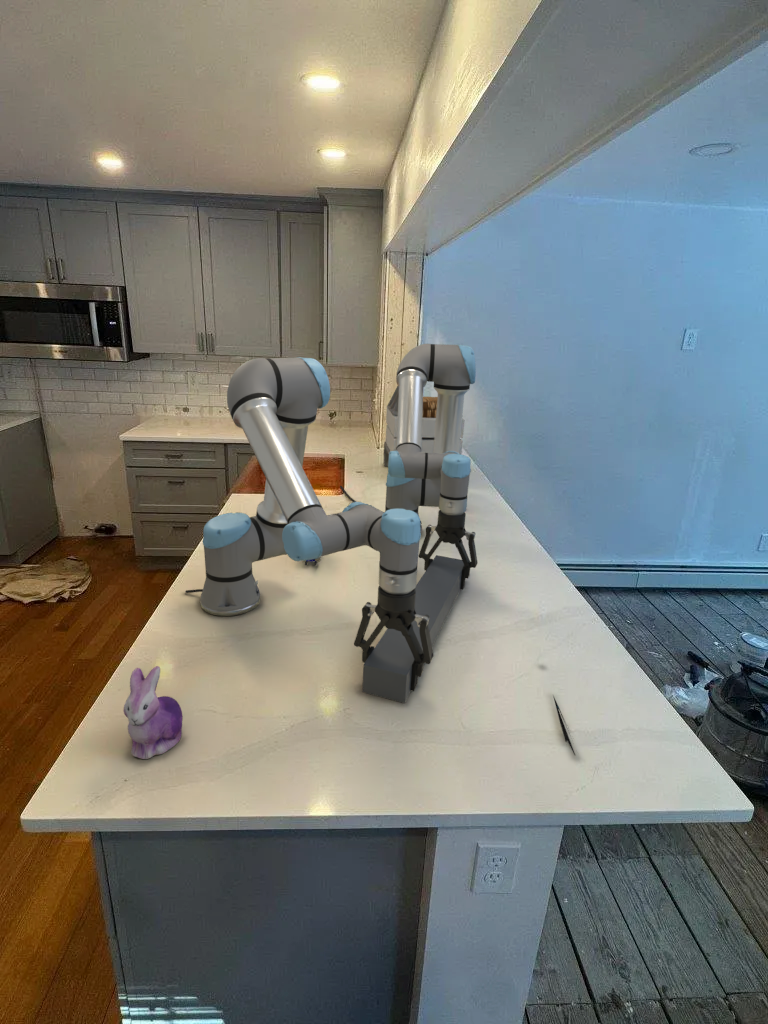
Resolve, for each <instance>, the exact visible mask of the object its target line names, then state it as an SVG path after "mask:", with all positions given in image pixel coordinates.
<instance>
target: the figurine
mask: <svg viewBox="0 0 768 1024" xmlns="http://www.w3.org/2000/svg"><path fill="white" fill-rule="evenodd" d="M160 676H161V668H160V666H159V665H156V666H154V667H152V669H150V671H149V673H148V674H147V676H146V677H145V675H144V672H143V670H142V668H140V667H135V668H134V669H133V670H132V672H131V674H130V679H129V680H130V681H129V690H130V692H129V695H128V696H127V699H126V701H125V702H124V704H123V709H122V711H123V714H124V716H125V717H126V718H127V721H128V724H127V731H128V735H129V737H130V738H131V741H132V746H131V750H130V751H131V752H130V753H131V756H132V757H135V758H138V759H143V760H147V759H151V758H153V757H154V756H157V755H158V756H159V755H163V754H164V753H167V751H169V750H171V749H172V748H173V747H175V745H177V744H178V743H179V742H180V741H181V739H182V734H183V733H182V728H183V710H182V708H181V706H180V703H179V702H178V701H177V700H176V699H175V698H174V697H172V696H168V695H162V696H157V694H156V690H157V687H158V683H159V680H160Z"/></svg>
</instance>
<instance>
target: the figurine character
mask: <svg viewBox="0 0 768 1024" xmlns="http://www.w3.org/2000/svg"><path fill="white" fill-rule="evenodd" d="M320 561H321V557H319V558H317V559H311V560H305V561H304V566H308V563H309V562H310V563H311V562H312V563H313V566H314V567H316V566H317V564H318V562H320Z"/></svg>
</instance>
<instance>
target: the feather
mask: <svg viewBox="0 0 768 1024" xmlns="http://www.w3.org/2000/svg"><path fill="white" fill-rule="evenodd" d="M552 697H553V701H554V704H555V708H556V712H557V716H558V721H559V724H560V727H561V730H562V734H563V737H564V738H563V739H564V742H565V744H566V743H568V745H569V747H570V749H571V751H572V753H573V756H576V753H575V750H574V747H573V745H572V742H571V740H570V737H569V734H568V732H570V729H569V726H568V725H567V722H566V720H565V718H564V715H563V713H562V711H561V709H560V707H559V705H558V703H557V700H556V698H555V696H554V695H552ZM567 730H568V731H567ZM573 739H574V737H572V740H573ZM574 740H575V739H574ZM568 745H567V744H566V746H568ZM576 752H577V753H578V751H576ZM578 754H579V753H578Z"/></svg>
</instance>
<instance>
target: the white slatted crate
mask: <svg viewBox="0 0 768 1024" xmlns="http://www.w3.org/2000/svg"><path fill="white" fill-rule="evenodd" d="M437 397H438V396H423V418H422V451H421V452H423V453H433V450H434V437H435V424H436V411H437ZM398 399H399V386H398V385H397V386H396V388H395V390H394V392H393V394H392V395H391V398H390V400H389V402H388V404H387V405H386V413H385V414H386V415H385V423H386V428H385V438H384V442H383V466H384V467H387V468H388V462H389V453H390V452H391V451H396V436H397V417H398ZM464 429H465V419H464V418H462V424H461V435H460V446H459V454H461V455H462V453H463V442H464V441H463V440H462V439H463V438H464V431H465V430H464Z"/></svg>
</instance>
